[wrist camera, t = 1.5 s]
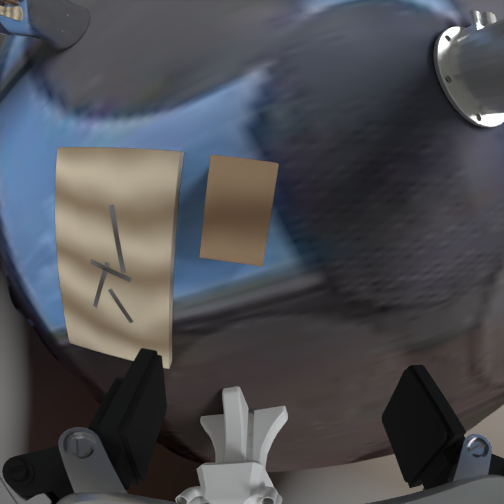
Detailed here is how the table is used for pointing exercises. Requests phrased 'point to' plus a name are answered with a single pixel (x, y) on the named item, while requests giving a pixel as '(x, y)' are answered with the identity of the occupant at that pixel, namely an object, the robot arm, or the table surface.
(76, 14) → the beer glass
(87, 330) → the board
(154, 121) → the table surface
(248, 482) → the toy gun turret
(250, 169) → the block
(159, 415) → the robot arm
